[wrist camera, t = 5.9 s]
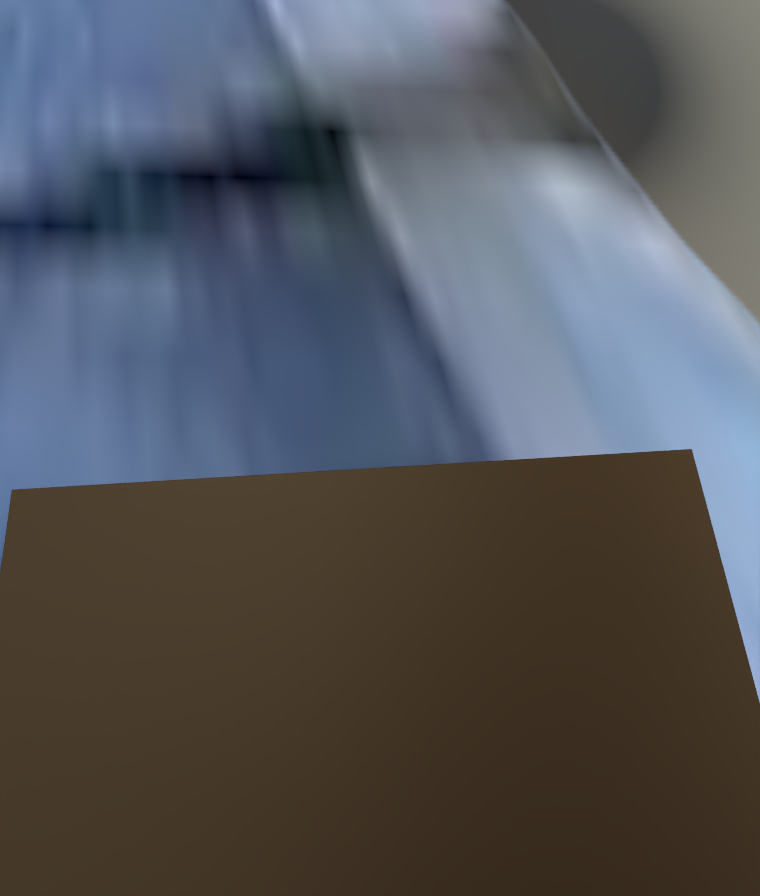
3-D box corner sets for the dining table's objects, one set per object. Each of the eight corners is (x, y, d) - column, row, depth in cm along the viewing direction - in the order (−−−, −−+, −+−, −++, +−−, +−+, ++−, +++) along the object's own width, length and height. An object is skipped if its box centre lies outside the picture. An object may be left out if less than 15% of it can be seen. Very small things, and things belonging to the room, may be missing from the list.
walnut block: (249, 885, 11) (-145, 1599, 2) (249, 627, 13) (11, 490, 4) (496, 861, 12) (954, 1428, 3) (466, 611, 13) (690, 449, 4)
